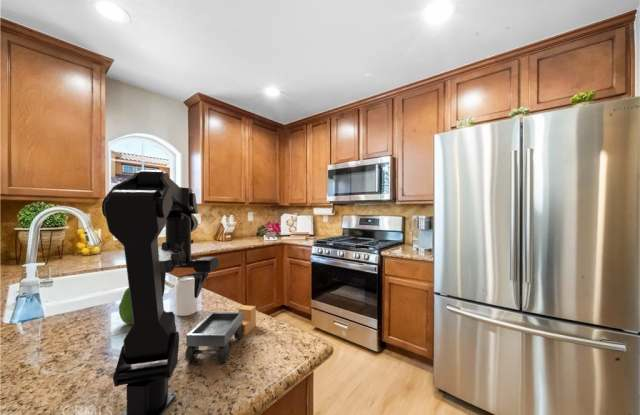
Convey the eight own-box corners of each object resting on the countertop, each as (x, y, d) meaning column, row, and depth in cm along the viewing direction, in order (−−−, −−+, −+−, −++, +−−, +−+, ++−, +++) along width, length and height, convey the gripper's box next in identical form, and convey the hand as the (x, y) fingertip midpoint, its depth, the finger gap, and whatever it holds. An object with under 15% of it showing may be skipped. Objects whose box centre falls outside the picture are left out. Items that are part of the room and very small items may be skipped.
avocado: (114, 330, 76) (113, 289, 76) (126, 319, 84) (125, 282, 84) (145, 327, 78) (144, 287, 78) (154, 316, 86) (153, 280, 86)
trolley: (223, 365, 59) (223, 336, 59) (184, 365, 59) (184, 336, 59) (243, 334, 73) (243, 311, 73) (212, 334, 74) (212, 311, 74)
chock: (244, 324, 80) (244, 305, 80) (255, 326, 79) (255, 306, 79) (232, 333, 74) (232, 312, 74) (245, 335, 73) (245, 314, 73)
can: (188, 317, 85) (188, 281, 85) (171, 316, 86) (171, 280, 86) (201, 309, 91) (201, 276, 91) (185, 308, 93) (185, 275, 93)
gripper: (117, 241, 59) (118, 309, 59) (198, 241, 58) (199, 310, 58) (150, 235, 70) (151, 293, 70) (219, 235, 69) (219, 293, 69)
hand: (178, 297), depth 67 cm, fingers open, 9 cm apart
